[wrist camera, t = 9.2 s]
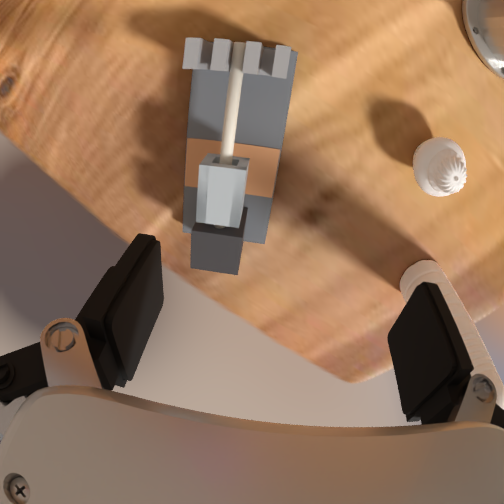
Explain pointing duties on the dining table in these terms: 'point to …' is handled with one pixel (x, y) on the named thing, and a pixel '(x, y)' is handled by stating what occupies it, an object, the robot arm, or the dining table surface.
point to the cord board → (235, 137)
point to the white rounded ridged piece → (439, 166)
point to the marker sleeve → (221, 190)
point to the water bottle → (467, 328)
